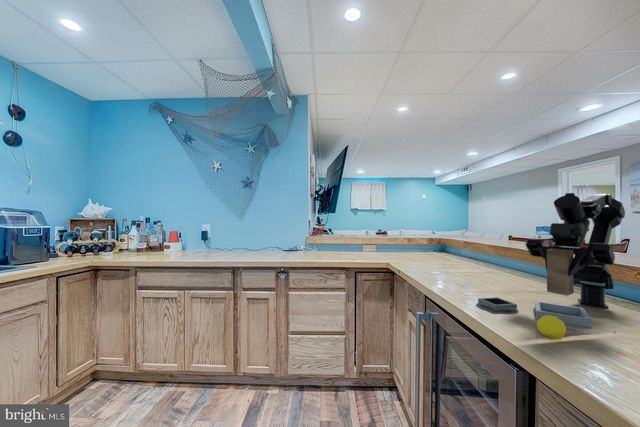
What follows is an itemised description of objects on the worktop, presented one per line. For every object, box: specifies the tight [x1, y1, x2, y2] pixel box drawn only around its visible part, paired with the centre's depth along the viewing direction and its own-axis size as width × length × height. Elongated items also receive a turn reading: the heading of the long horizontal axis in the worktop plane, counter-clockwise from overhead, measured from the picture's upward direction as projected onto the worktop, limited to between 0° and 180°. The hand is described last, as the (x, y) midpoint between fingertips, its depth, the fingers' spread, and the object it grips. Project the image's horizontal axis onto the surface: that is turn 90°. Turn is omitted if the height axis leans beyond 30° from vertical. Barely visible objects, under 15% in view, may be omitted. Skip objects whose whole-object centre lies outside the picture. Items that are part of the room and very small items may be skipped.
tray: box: [534, 300, 593, 329], centre depth 78 cm, size 11×11×3 cm
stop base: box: [476, 296, 520, 315], centre depth 85 cm, size 11×11×3 cm
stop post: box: [546, 249, 575, 297], centre depth 78 cm, size 4×4×12 cm
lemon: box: [536, 315, 567, 340], centre depth 66 cm, size 7×5×5 cm
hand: (558, 273), depth 77 cm, fingers closed on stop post, 4 cm apart
